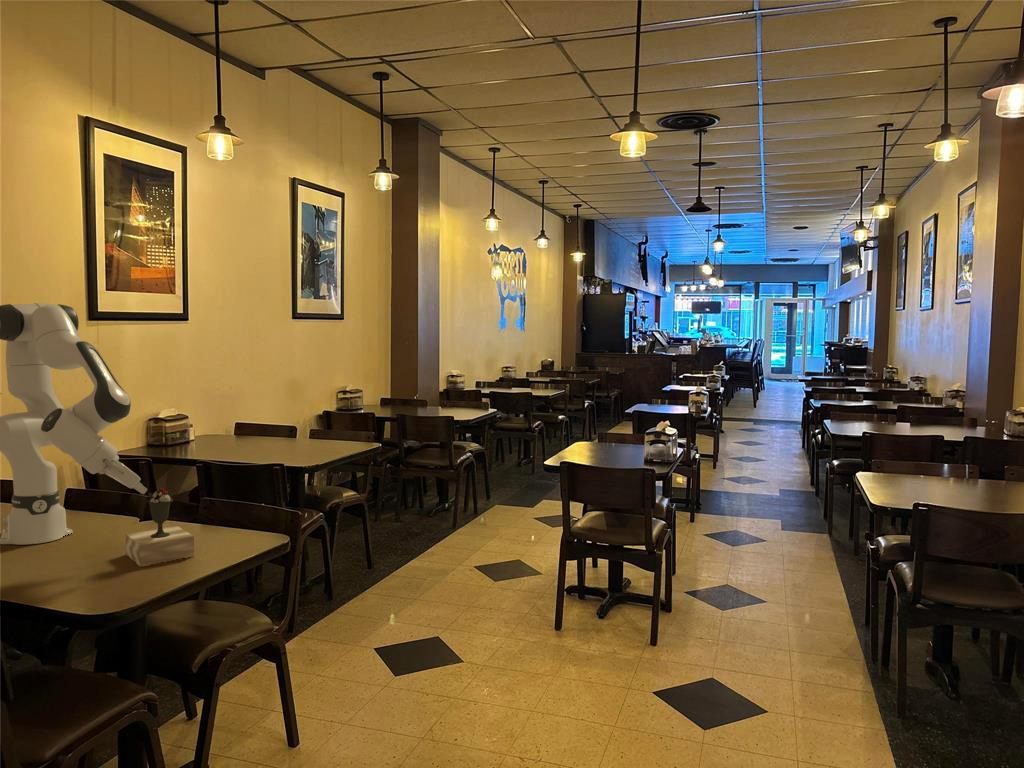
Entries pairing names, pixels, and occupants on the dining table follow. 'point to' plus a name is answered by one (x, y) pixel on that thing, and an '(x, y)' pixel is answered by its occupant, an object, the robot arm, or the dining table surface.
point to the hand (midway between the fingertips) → (139, 488)
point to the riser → (159, 546)
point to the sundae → (159, 510)
